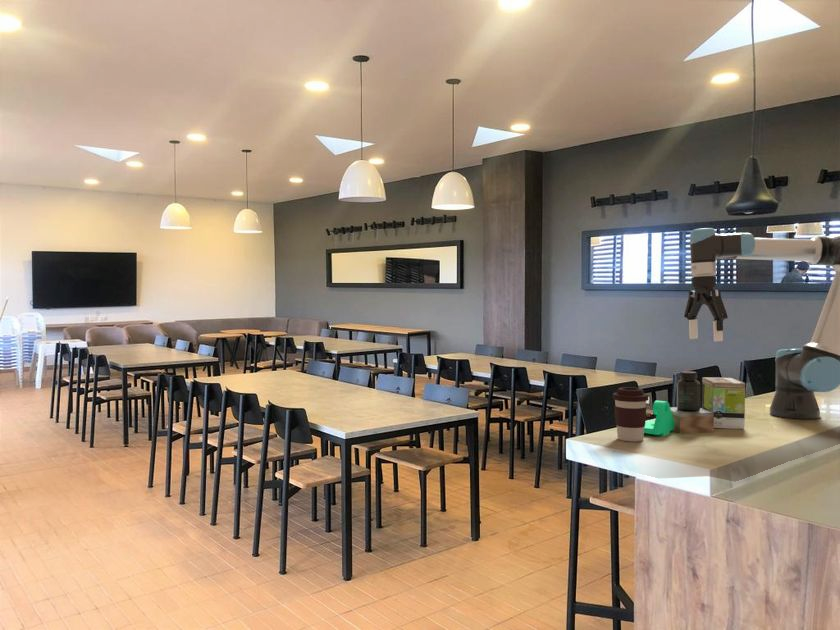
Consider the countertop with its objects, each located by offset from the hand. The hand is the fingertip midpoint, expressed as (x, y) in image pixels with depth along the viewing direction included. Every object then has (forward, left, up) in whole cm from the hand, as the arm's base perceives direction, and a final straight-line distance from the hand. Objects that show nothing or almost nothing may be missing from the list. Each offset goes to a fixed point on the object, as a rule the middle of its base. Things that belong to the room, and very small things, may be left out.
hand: (705, 340), depth 213 cm
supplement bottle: (+11, +9, -22) cm, 26 cm away
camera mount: (+24, +13, -28) cm, 39 cm away
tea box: (-3, +4, -28) cm, 28 cm away
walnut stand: (+12, +9, -27) cm, 31 cm away
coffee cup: (+36, +20, -28) cm, 49 cm away
